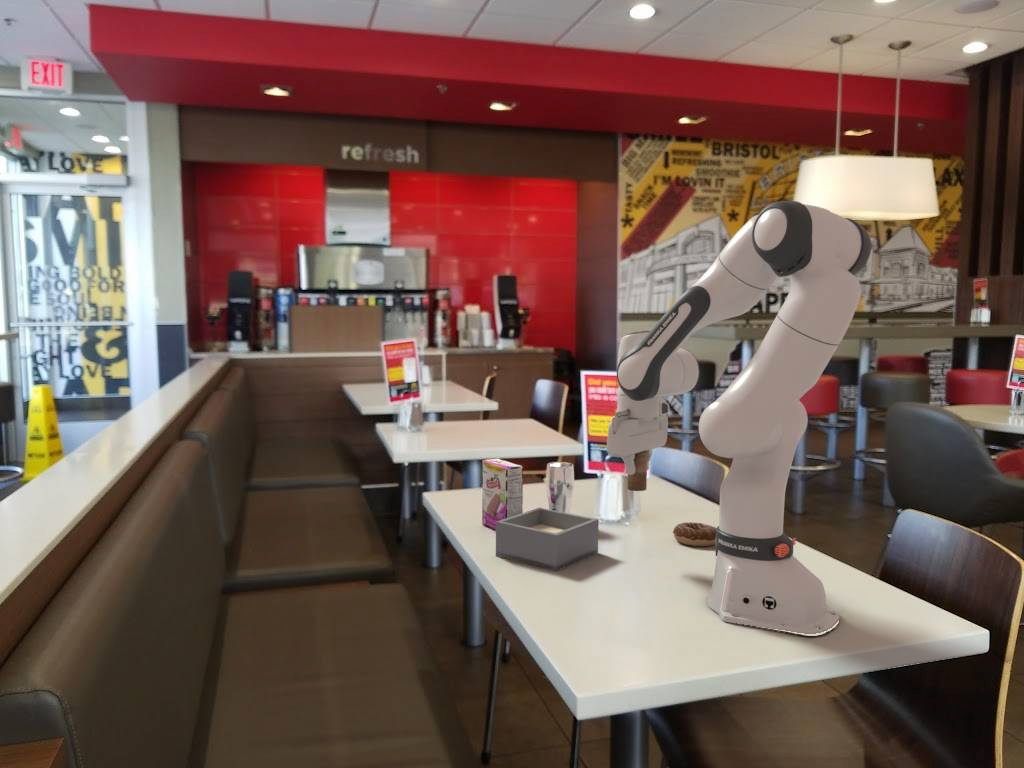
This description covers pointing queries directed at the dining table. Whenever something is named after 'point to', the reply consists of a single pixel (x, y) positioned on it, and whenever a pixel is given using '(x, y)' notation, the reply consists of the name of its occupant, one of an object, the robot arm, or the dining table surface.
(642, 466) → the peg
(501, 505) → the candy bar box
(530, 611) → the dining table surface
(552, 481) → the beer glass
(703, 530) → the donut
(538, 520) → the open-top box
